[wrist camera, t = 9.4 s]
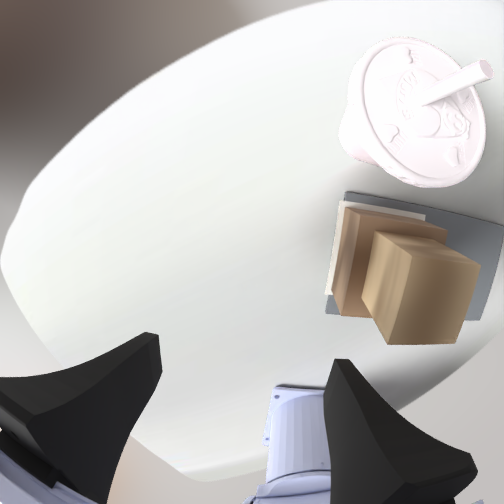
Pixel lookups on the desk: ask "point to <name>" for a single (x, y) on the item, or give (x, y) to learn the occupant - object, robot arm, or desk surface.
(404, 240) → the oak block
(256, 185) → the desk surface
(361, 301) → the walnut block
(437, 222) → the slate mat
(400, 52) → the smoothie
